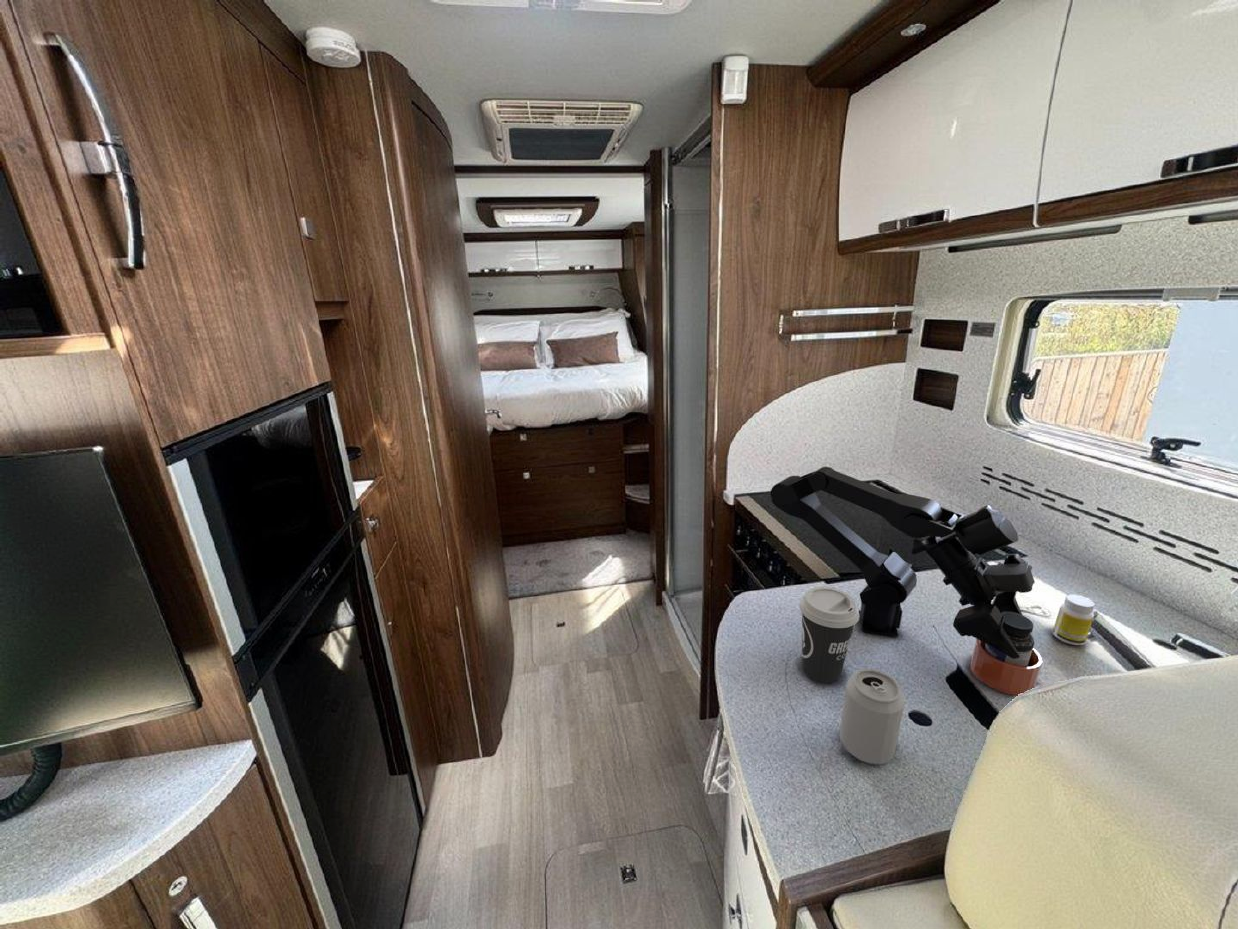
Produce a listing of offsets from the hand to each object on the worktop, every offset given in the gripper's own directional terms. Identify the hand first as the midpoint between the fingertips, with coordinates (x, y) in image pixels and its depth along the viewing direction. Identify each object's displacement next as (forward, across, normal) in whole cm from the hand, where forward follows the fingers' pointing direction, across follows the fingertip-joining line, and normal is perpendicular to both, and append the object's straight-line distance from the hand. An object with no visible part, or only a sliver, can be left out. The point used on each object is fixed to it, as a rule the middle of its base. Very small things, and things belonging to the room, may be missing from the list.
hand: (1021, 644), depth 84 cm
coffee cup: (-12, -20, +23) cm, 33 cm away
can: (-4, -30, +15) cm, 34 cm away
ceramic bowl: (+4, 0, +6) cm, 8 cm away
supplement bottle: (+10, +20, +1) cm, 22 cm away
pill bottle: (+4, 0, +6) cm, 7 cm away
